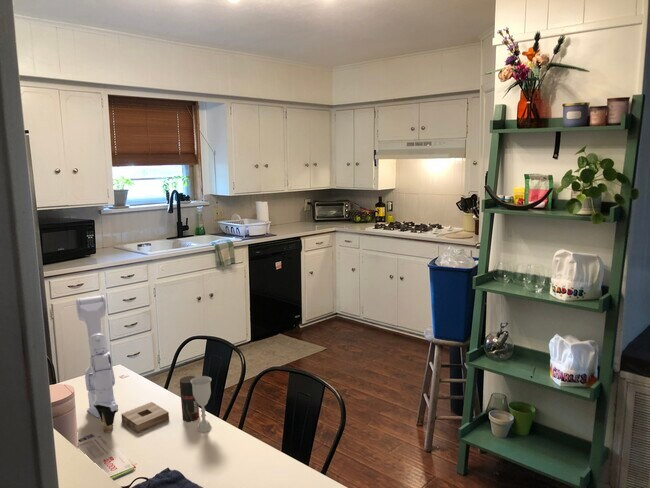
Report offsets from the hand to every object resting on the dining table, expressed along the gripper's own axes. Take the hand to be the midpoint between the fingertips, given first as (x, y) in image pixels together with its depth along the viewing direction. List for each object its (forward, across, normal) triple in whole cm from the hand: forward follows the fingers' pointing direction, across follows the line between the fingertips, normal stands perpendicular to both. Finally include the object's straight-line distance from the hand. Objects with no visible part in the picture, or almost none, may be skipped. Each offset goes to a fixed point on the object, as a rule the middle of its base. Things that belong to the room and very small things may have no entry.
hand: (107, 423), depth 184 cm
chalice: (+3, +25, +23) cm, 34 cm away
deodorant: (+3, +15, +24) cm, 28 cm away
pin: (+3, 0, 0) cm, 3 cm away
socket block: (+3, +4, +12) cm, 13 cm away
